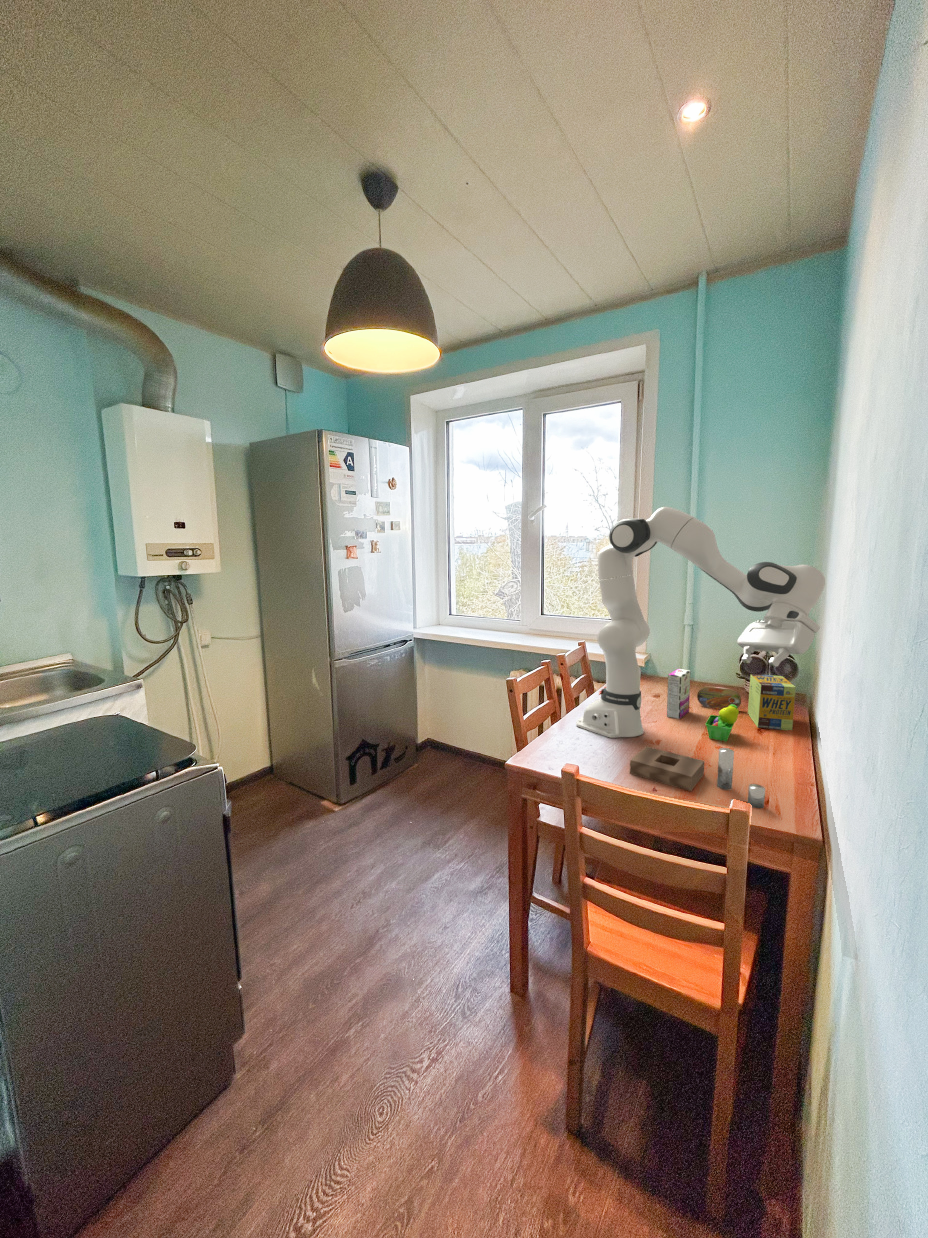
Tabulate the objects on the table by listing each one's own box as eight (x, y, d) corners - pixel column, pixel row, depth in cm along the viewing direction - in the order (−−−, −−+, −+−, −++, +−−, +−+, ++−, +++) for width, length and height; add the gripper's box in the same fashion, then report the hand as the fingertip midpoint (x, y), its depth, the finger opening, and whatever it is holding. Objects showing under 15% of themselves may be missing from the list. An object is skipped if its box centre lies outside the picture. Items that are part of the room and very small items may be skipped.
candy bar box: (675, 709, 186) (677, 668, 184) (689, 712, 183) (691, 670, 180) (665, 717, 178) (667, 674, 175) (679, 720, 174) (681, 676, 172)
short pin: (746, 805, 116) (747, 788, 115) (749, 799, 119) (750, 782, 118) (762, 810, 114) (763, 792, 113) (765, 804, 116) (766, 787, 116)
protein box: (757, 728, 165) (760, 684, 163) (747, 713, 180) (750, 673, 177) (793, 731, 162) (796, 687, 160) (779, 716, 176) (782, 675, 174)
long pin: (715, 787, 125) (717, 751, 124) (718, 782, 128) (721, 746, 126) (729, 791, 123) (732, 754, 121) (733, 786, 125) (735, 750, 124)
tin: (696, 706, 189) (697, 685, 188) (697, 704, 192) (698, 683, 191) (740, 712, 181) (741, 691, 180) (741, 710, 183) (742, 689, 182)
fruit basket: (709, 728, 166) (711, 696, 164) (739, 733, 161) (741, 701, 159) (704, 739, 157) (705, 705, 155) (734, 745, 152) (737, 710, 150)
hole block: (629, 773, 134) (630, 759, 133) (645, 759, 142) (646, 746, 142) (690, 791, 123) (691, 776, 123) (703, 774, 132) (704, 760, 132)
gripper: (746, 614, 138) (722, 654, 137) (808, 613, 118) (780, 660, 117) (761, 626, 139) (738, 666, 138) (826, 627, 119) (799, 674, 118)
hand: (758, 663), depth 127 cm, fingers open, 8 cm apart
